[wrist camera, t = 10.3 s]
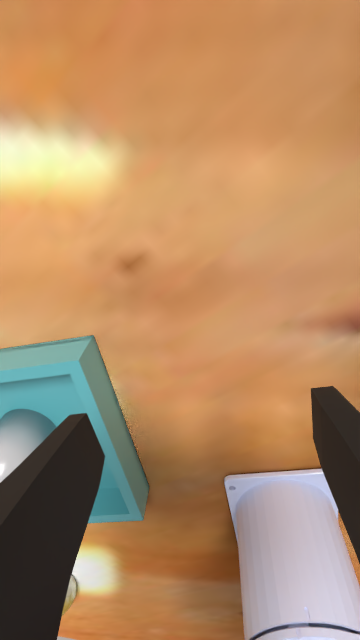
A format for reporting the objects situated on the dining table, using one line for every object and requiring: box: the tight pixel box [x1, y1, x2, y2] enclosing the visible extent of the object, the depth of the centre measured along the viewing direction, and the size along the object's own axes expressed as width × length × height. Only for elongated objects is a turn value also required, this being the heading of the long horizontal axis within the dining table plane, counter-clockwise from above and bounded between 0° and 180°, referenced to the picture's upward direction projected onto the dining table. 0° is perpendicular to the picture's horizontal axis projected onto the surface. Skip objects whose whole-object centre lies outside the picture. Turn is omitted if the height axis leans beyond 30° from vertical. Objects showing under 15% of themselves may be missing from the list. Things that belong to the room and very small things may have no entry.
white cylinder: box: [0, 409, 56, 483], centre depth 22 cm, size 4×4×5 cm
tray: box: [0, 335, 149, 523], centre depth 24 cm, size 14×14×3 cm
